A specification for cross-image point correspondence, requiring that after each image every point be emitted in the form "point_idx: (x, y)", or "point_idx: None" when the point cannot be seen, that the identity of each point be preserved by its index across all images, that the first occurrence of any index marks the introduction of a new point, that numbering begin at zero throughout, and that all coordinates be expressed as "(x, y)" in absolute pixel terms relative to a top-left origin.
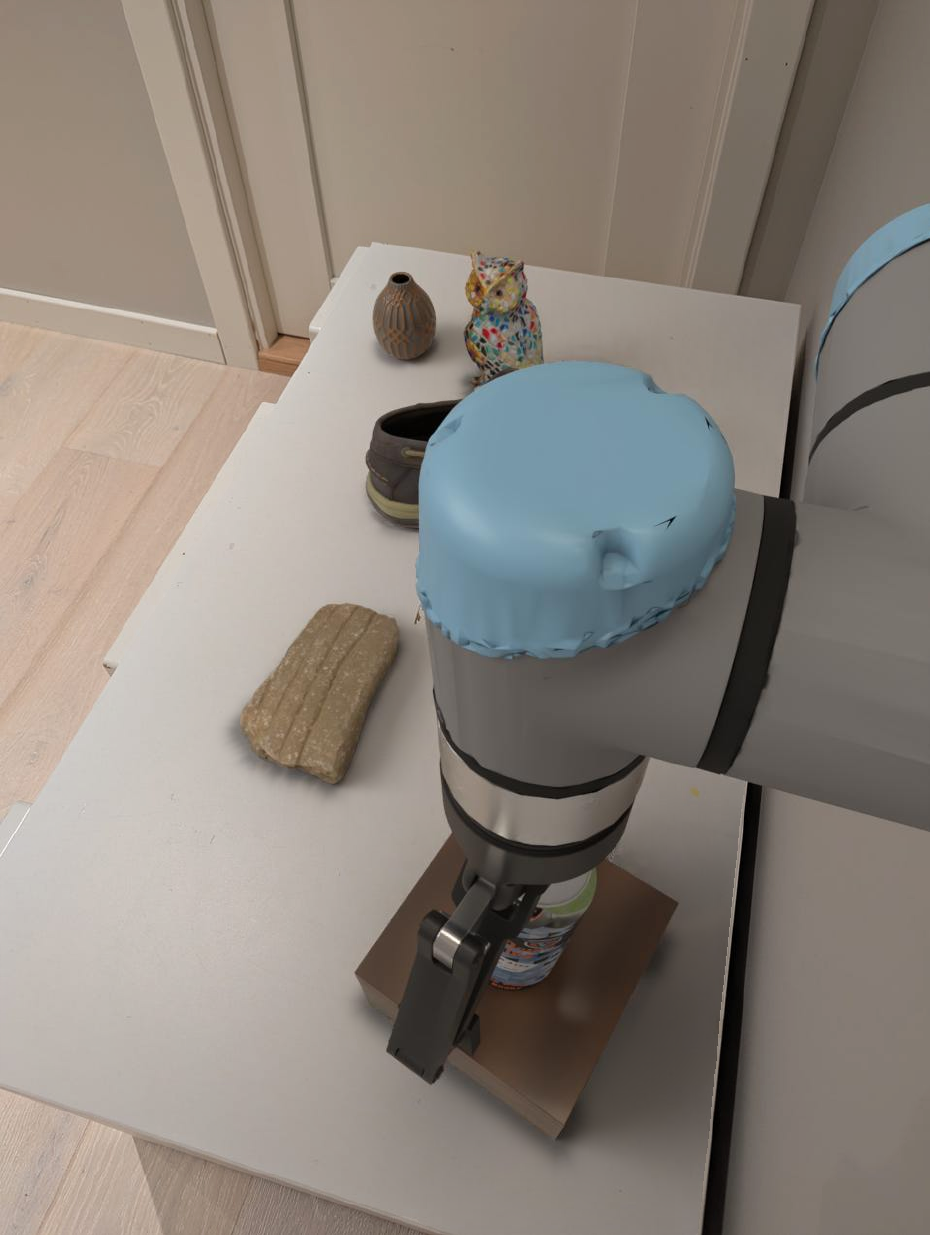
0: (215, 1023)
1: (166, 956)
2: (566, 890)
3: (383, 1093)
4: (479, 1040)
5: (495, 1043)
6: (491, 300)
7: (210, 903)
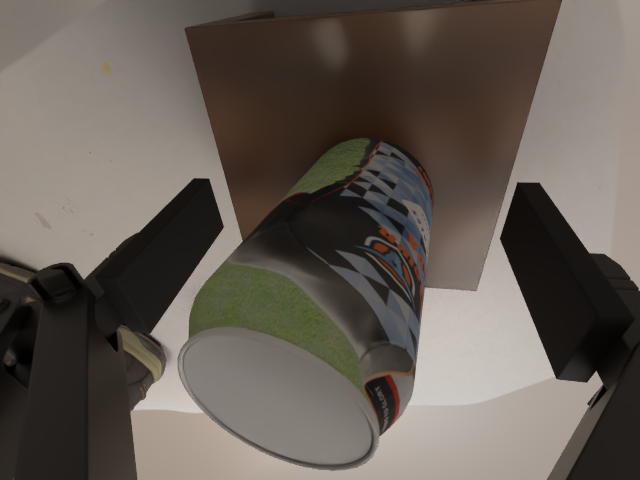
0: (519, 291)
1: (489, 330)
2: (294, 369)
3: (523, 169)
4: (528, 195)
5: (485, 145)
6: None
7: (443, 326)
